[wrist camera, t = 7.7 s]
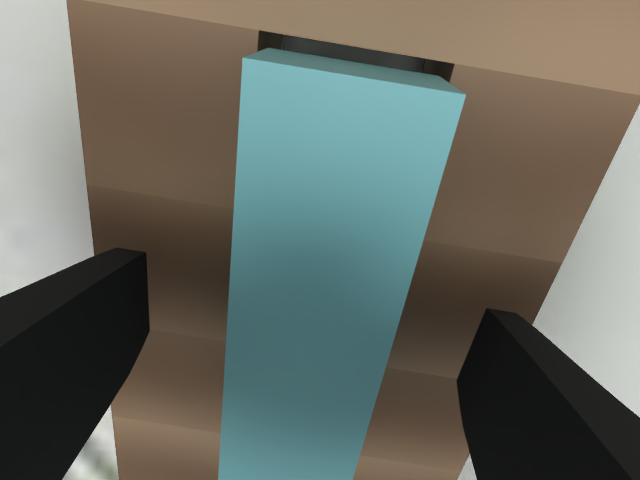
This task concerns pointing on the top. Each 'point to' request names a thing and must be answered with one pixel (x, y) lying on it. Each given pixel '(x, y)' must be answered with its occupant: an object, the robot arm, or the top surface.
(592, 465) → the robot arm
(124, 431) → the brown wooden board
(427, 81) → the teal bridge block
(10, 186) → the top surface
